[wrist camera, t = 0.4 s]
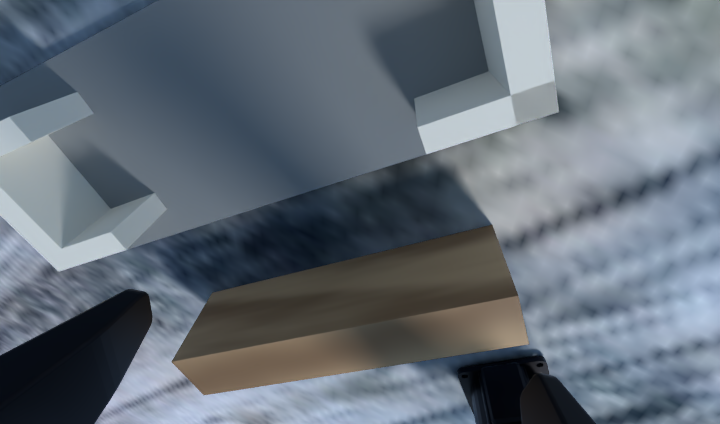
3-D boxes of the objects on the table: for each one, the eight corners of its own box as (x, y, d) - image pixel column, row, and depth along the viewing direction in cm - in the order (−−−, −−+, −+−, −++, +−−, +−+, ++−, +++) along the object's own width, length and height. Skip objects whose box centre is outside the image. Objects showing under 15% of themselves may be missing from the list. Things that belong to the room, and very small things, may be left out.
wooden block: (501, 266, 24) (529, 344, 19) (237, 322, 29) (203, 395, 24) (491, 222, 22) (518, 295, 17) (213, 290, 27) (171, 361, 22)
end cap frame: (551, 108, 18) (592, 145, 14) (118, 248, 26) (68, 297, 22) (510, -187, 13) (557, -256, 9) (-17, 97, 20) (-114, 126, 17)
